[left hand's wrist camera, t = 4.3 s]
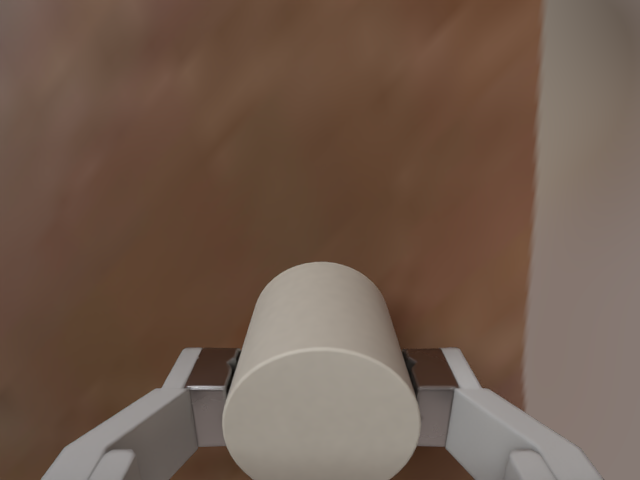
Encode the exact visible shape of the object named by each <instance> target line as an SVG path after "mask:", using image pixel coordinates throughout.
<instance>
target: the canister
mask: <svg viewBox="0 0 640 480" xmlns="http://www.w3.org/2000/svg"><path fill="white" fill-rule="evenodd" d="M222 429H223V436H224V440H225V443H226V446H227V448H228V450H229V452H230V454H231V456H232V458H233V459H234V461H235V462H236V464H237V465H238V466H239V467H240V468H241V469H242V470H243V471H244V472H245V473H246V474H247V475H248V476H249V477H251V478H252V479H253V480H390V479H391V478H392V477H394V476H395V475H396V474H397V473H398V472H399V471H400V470H401V469H402V468H403V467H404V466H405V465H406V464H407V462H408V461H409V459H410V458H411V456H412V455H413V453H414V451H415V449H416V446H417V444H418V440H419V436H420V431H421V413H420V409H419V405H418V401H417V398H416V395H415V392H414V389H413V386H412V383H411V380H410V377H409V373H408V370H407V367H406V364H405V361H404V358H403V355H402V352H401V349H400V345H399V342H398V339H397V336H396V333H395V330H394V327H393V324H392V321H391V317H390V314H389V311H388V308H387V305H386V302H385V300H384V298H383V296H382V294H381V292H380V291H379V289H378V288H377V287H376V286H375V284H374V283H373V282H372V281H371V280H369V279H368V278H367V277H366V276H364V275H363V274H362V273H360V272H358V271H356V270H354V269H352V268H350V267H347V266H344V265H341V264H337V263H330V262H312V263H305V264H302V265H298V266H295V267H292V268H290V269H288V270H286V271H284V272H282V273H281V274H279V275H278V276H276V277H275V278H274V279H273V280H272V281H271V282H270V283H269V284H268V285H267V286H266V287H265V288H264V290H263V291H262V293H261V294H260V296H259V298H258V300H257V303H256V306H255V309H254V312H253V315H252V318H251V322H250V325H249V328H248V331H247V335H246V338H245V341H244V344H243V347H242V351H241V354H240V357H239V360H238V364H237V367H236V370H235V373H234V376H233V380H232V383H231V386H230V389H229V393H228V396H227V399H226V402H225V405H224V410H223V415H222Z"/></svg>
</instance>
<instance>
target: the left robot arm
mask: <svg viewBox="0 0 640 480" xmlns="http://www.w3.org/2000/svg"><path fill="white" fill-rule="evenodd" d="M240 354H241V350H240V348H185V349H183V350H182V352H181V354H180V355H179V357H178V359H177V361H176V363H175V365H174V366H173V368H172V370H171V372H170V374H169V375H168V377H167V379H166V381H165V383H164V384H163V386H162V388H156V389H154V390H153V391H151V392H150V393H148V394H146V395H145V396H143V397H142V398H140V399H139V400H137V401H136V402H134V403H133V404H131V405H129V406H128V407H126V408H125V409H123V410H122V411H120V412H119V413H117V414H115V415H114V416H112V417H111V418H109V419H108V420H106V421H105V422H103V423H102V424H100V425H98V426H97V427H95V428H94V429H92V430H91V431H89V432H88V433H86V434H85V435H83V436H81V437H80V438H78V439H77V440H75V441H74V442H72V443H71V444H69V445H68V446H66V447H64V449H63V450H62V451H61V453H60V454H59V456H58V457H57V458H56V460H55V461H54V462H53V464H52V465H51V466H50V468H49V469H48V470H47V472H46V473H45V474H44V476H43V477H42V479H41V480H169V479H170V478H171V477H172V476H173V475H174V474H175V472H176V471H177V470H178V469H179V468H180V467H181V466H182V465H183V464H184V463H185V462H186V461H187V460H188V459H189V458H190V457H191V456H192V454H193V453H194V452H195V451H196V450H197V449H198V447H205V446H226V443H225V440H224V436H223V429H222V415H223V410H224V405H225V402H226V399H227V396H228V393H229V389H230V386H231V383H232V380H233V376H234V373H235V370H236V367H237V364H238V360H239V357H240ZM402 355H403V358H404V361H405V364H406V367H407V370H408V373H409V377H410V380H411V383H412V386H413V389H414V392H415V395H416V398H417V401H418V405H419V409H420V413H421V431H420V436H419V440H418V444H417V446H438V447H446V450H447V451H448V452H449V453H450V454H451V455H452V456H453V457H454V458H455V459H456V460H457V461H458V462H459V463H460V464H461V465H462V466H463V467H464V469H465V470H466V471H467V472H468V473H469V474H470V475H471V476H472V477H473V478H474V479H475V480H604V479H603V477H602V476H601V475H600V473H599V472H598V471H597V469H596V468H595V467H594V465H593V464H592V463H591V461H590V460H589V459H588V457H587V456H586V455H585V453H584V452H583V451H582V449H581V448H580V447H578V446H577V445H575V444H573V443H572V442H570V441H569V440H567V439H566V438H564V437H563V436H561V435H559V434H558V433H556V432H555V431H553V430H552V429H550V428H549V427H547V426H545V425H544V424H542V423H541V422H539V421H538V420H536V419H535V418H533V417H531V416H530V415H528V414H527V413H525V412H524V411H522V410H521V409H519V408H517V407H516V406H514V405H513V404H511V403H510V402H508V401H507V400H505V399H503V398H502V397H500V396H499V395H497V394H496V393H494V392H493V391H491V390H489V389H488V388H482V387H481V385H480V384H479V382H478V380H477V378H476V377H475V375H474V373H473V371H472V370H471V368H470V366H469V364H468V363H467V361H466V359H465V357H464V356H463V354H462V352H461V350H460V349H459V348H457V347H455V348H439V349H402Z"/></svg>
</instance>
